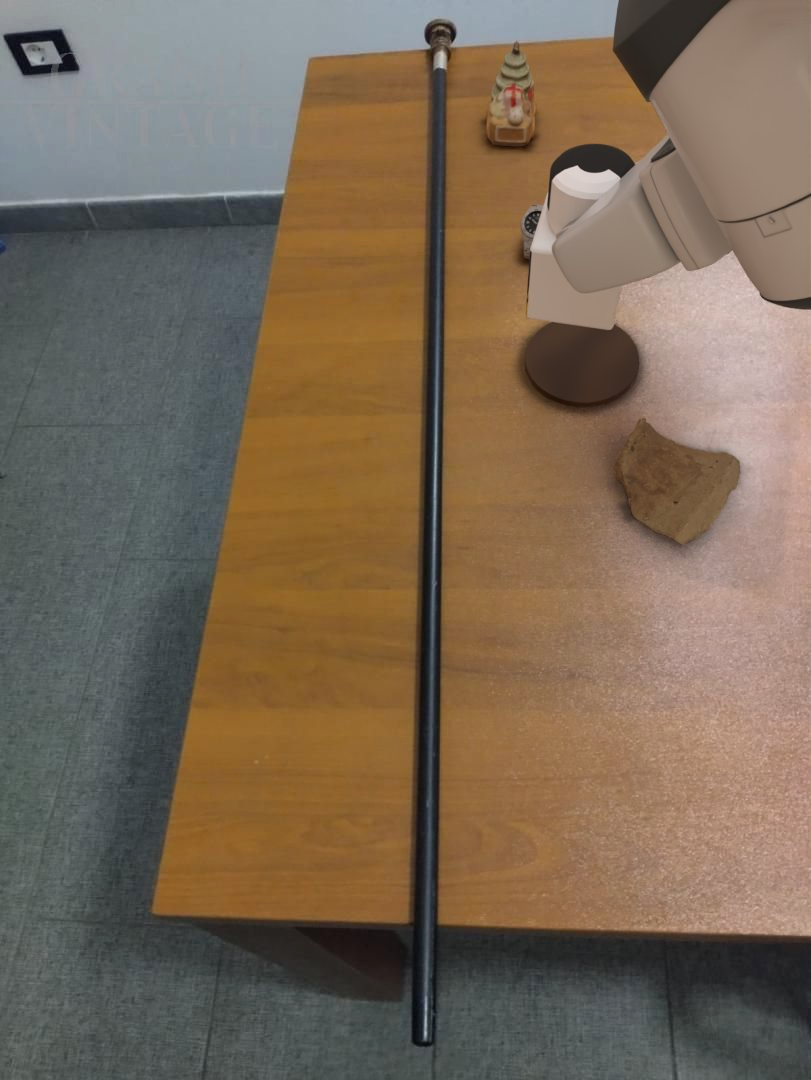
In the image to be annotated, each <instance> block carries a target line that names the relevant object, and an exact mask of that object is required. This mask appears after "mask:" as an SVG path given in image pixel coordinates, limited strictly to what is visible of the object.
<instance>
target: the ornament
mask: <svg viewBox="0 0 811 1080" xmlns="http://www.w3.org/2000/svg"><path fill="white" fill-rule="evenodd" d="M499 71H500V72H499V73H498V74H497V75H496V78H495V84H494V85H493V86H492V88H491V95H490V100H489V101H488V102H487V111H486V112H487V113H486V114H487V115H486V116H487V117H486V124H485V127H486V128H485V135H486V138H487V139H488V140H489V141H490V142H491V144H492V145H494V146H502V147H503V146H504V147H505V146H508V147H509V146H512V147H524V146H527V145H528V144H529V143H530V140H531V139H533V138H535V137H534V136H535V131H536V113H537V102H536V100H535V80H534V78H533V75H532V74H531V72H530V65H529V64H528V62H527V56H526V54H525V53H524V52H522V51H520V43H519V41H518V40H516V41H515V42H514V44H513V47H512V49H511V51H509V52H508V53H506V54H505V56H504V58H503V62H502V63H501V65H500V68H499Z"/></svg>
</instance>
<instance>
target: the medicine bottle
mask: <svg viewBox="0 0 811 1080" xmlns="http://www.w3.org/2000/svg"><path fill="white" fill-rule="evenodd" d="M635 163H636V162H635V161H634V160H633V159H632V157H631V156H630V155H629V154H628V153H627V152H625V151H624V150H622V149H620V148H618V147H616V146H613V145H609V144H604V143H585V144H580V145H575V146H573V147H571V148H570V147H569V148H568V149H566V150H565V151H563V152H562V153H561V154H560V155H559V156H558V157H556V158H555V160H553V162H552V164H551V166H550V170H549V181H548V191H547V193H546V196H545V199H544V201H543V204H542V205H543V209H542V212H541V215H540V218H539V222H538V225H537V228H536V231H535V235H534V238H533V241H532V245H531V248H530V259H529V261H528V272H527V273H528V274H527V285H526V286H527V287H526V303H525V318H527V319H530V320H536V321H543V322H549V323H551V322H556V323H563V324H570V325H577V326H584V327H591V328H598V329H605V330H611V329H612V328H613V326H614V324H615V321H616V317H617V312H618V308H619V303H620V298H621V293H622V289H623V285H622V286H618V287H614V288H610V289H606V290H601V291H597V292H592V293H580V292H578V291H576V290H575V289H574V288H573V287H572V286H571V285H570V283H569V282H568V281H567V279H566V278H565V276H564V274H563V273H562V271H561V269H560V267H559V266H558V264H557V262H556V259H555V257H554V255H553V252H552V245H553V243H554V242H555V240H556V234H557V233H558V232H559V231H560V230H561V229H562V228H563V227H564V226H566V225H567V224H568V223H569V222H571V221H574V220H575V219H577V218H579V217H581V216H582V215H583V214H584V213H585V212H586V211H587V210H588V209H589V208H590V207H591V206H593V205H594V204H595V203H596V202H597V201H598V200H599V199H600V198H601V197H602V196H603V195H604V194H605V193H606V192H607V191H608V190H609V189H610V188H611V187H613V186H614V185H615V184H616V183H617V182H618V181H619V180H620V179H621V178H622V177H623V176H624V175H625V174H626V173H627V172H628V171H629V170H630V169H631V168H633V167H634V166H635Z"/></svg>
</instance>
